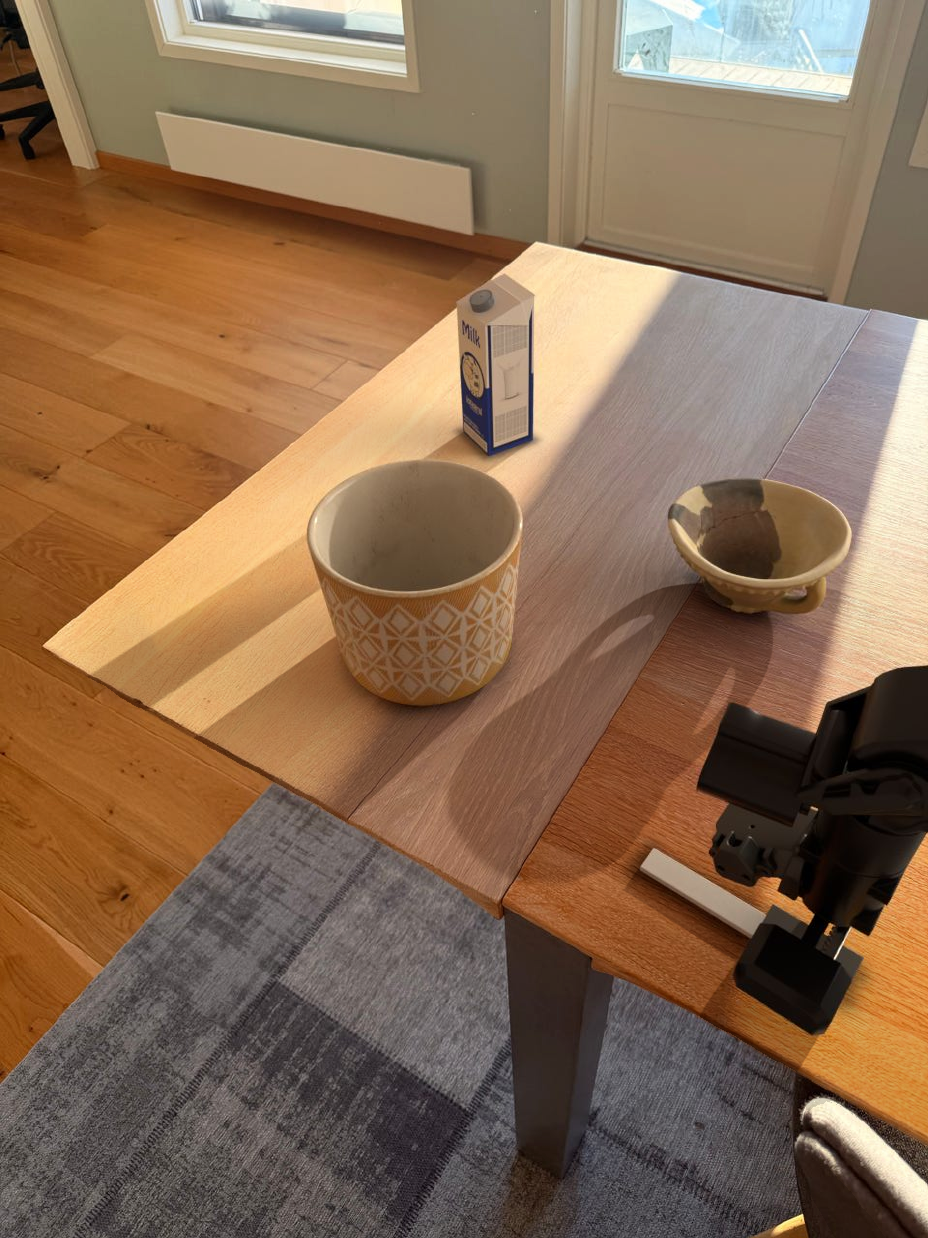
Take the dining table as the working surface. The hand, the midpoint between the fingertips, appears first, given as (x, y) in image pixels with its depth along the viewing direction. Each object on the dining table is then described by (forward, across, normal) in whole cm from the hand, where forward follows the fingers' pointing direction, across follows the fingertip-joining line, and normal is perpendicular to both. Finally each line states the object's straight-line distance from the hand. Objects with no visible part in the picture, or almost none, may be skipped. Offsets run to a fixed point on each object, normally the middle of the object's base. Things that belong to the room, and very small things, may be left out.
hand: (807, 949), depth 67 cm
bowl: (+1, -34, -22) cm, 40 cm away
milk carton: (+2, -43, -60) cm, 74 cm away
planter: (+1, -8, -44) cm, 44 cm away
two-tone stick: (+1, 0, -5) cm, 5 cm away
